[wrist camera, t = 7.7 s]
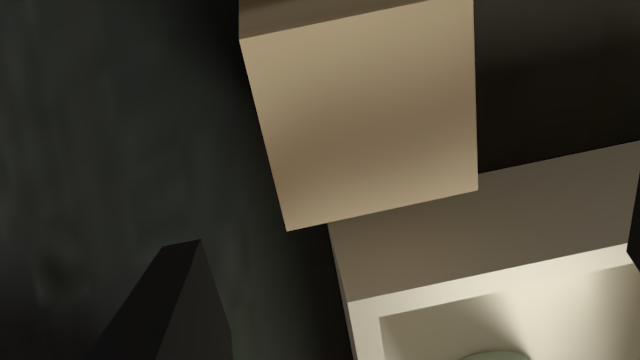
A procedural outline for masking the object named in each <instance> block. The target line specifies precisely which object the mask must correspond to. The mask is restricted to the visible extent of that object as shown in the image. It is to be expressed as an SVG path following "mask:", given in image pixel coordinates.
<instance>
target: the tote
mask: <svg viewBox="0 0 640 360" xmlns="http://www.w3.org/2000/svg"><path fill="white" fill-rule="evenodd" d="M639 173H640V141H635V142H630V143H625V144H620V145H616V146H611V147H606V148H601V149H596V150H592V151H587V152H582V153H577V154H572V155H567V156H563V157H558V158H553V159H548V160H543V161H539V162H534V163H529V164H524V165H519V166H515V167H510V168H505V169H500V170H495V171H491V172H486V173H481V174H478V190H477V191H472V192H468V193H463V194H458V195H454V196H449V197H444V198H440V199H435V200H431V201H426V202H421V203H417V204H412V205H407V206H403V207H398V208H393V209H389V210H384V211H379V212H375V213H370V214H366V215H361V216H356V217H352V218H347V219H342V220H338V221H333V222H328V223H327V225H328V230H329V235H330V240H331V246H332V251H333V256H334V261H335V266H336V272H337V277H338V282H339V287H340V292H341V298H342V303H343V308H344V313H345V318H346V323H347V329H348V334H349V339H350V344H351V349H352V355H353V360H462V359H464V358H467V357H469V356H472V355H476V354H479V353H484V352H491V351H508V352H514V353H518V354H521V355H523V356H525V357H527V358H528V359H530V360H640V272H639V270H638V269H637V267H636V266H635V264H634V263H633V261H632V260H631V258H630V257H629V255H628V254H627V252H626V250H627V244H628V238H629V232H630V226H631V220H632V214H633V208H634V203H635V197H636V191H637V185H638V179H639Z"/></svg>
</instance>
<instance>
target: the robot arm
mask: <svg viewBox="0 0 640 360" xmlns="http://www.w3.org/2000/svg"><path fill="white" fill-rule="evenodd" d="M626 252H627V254H628V255H629V257H630V258H631V260H632V261H633V263H634V264H635V266H636V267H637V269H638V270H639V272H640V173H639V179H638V185H637V191H636V197H635V203H634V208H633V214H632V220H631V226H630V232H629V238H628V244H627V250H626ZM83 360H233V357H232V340H231V331H230V328H229V325H228V321H227V318H226V315H225V312H224V309H223V306H222V303H221V300H220V297H219V294H218V291H217V288H216V285H215V281H214V278H213V275H212V272H211V269H210V266H209V263H208V260H207V257H206V254H205V251H204V248H203V245H202V242H201V239H199V240H194V241H189V242H184V243H179V244H174V245H169V246H163V247H162V248H161V249H160V251H159V252H158V254H157V255H156V256H155V258H154V259H153V261H152V262H151V263H150V265H149V266H148V268H147V269H146V271H145V272H144V274H143V275H142V277H141V278H140V279H139V281H138V282H137V284H136V285H135V287H134V288H133V290H132V291H131V293H130V294H129V296H128V297H127V299H126V300H125V301H124V303H123V304H122V306H121V307H120V309H119V310H118V312H117V313H116V314H115V316H114V317H113V319H112V320H111V321H110V323H109V324H108V326H107V327H106V328H105V330H104V331H103V333H102V334H101V335H100V337H99V338H98V340H97V341H96V342H95V344H94V345H93V347H92V348H91V349H90V351H89V352H88V353H87V355H86V356H85V357H84V359H83Z"/></svg>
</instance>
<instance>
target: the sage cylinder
mask: <svg viewBox="0 0 640 360" xmlns="http://www.w3.org/2000/svg"><path fill="white" fill-rule="evenodd" d="M462 360H530V359H528V358H527V357H525V356H523V355H521V354H518V353H514V352H508V351H491V352H484V353H479V354H476V355H472V356H469V357H467V358H464V359H462Z"/></svg>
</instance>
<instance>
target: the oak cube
mask: <svg viewBox="0 0 640 360" xmlns="http://www.w3.org/2000/svg"><path fill="white" fill-rule="evenodd" d="M239 42H240V46H241V50H242V54H243V58H244V62H245V66H246V70H247V74H248V78H249V82H250V86H251V90H252V94H253V98H254V102H255V106H256V110H257V114H258V118H259V122H260V126H261V130H262V134H263V138H264V142H265V146H266V150H267V154H268V158H269V162H270V166H271V170H272V174H273V178H274V182H275V186H276V190H277V194H278V198H279V202H280V206H281V210H282V214H283V218H284V222H285V226H286V230H287V231H291V230H296V229H301V228H305V227H310V226H314V225H319V224H324V223H328V222H333V221H338V220H342V219H347V218H352V217H356V216H361V215H366V214H370V213H375V212H379V211H384V210H389V209H393V208H398V207H403V206H407V205H412V204H417V203H421V202H426V201H431V200H435V199H440V198H444V197H449V196H454V195H458V194H463V193H468V192H472V191H477V190H478V165H477V129H476V92H475V55H474V18H473V0H239Z"/></svg>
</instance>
